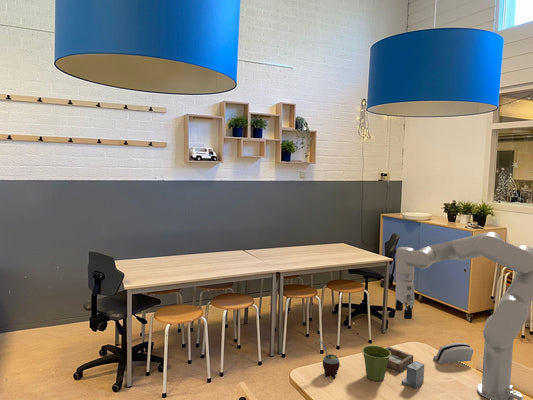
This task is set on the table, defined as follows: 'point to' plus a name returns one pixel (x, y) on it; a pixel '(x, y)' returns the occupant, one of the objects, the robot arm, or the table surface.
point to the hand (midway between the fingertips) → (403, 314)
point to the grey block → (414, 375)
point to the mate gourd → (330, 364)
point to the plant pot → (376, 361)
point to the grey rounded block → (454, 353)
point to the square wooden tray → (398, 360)
